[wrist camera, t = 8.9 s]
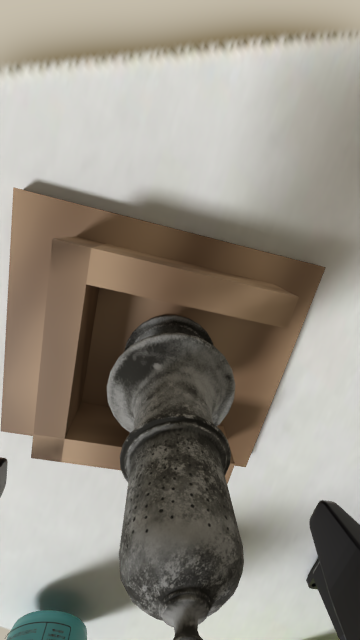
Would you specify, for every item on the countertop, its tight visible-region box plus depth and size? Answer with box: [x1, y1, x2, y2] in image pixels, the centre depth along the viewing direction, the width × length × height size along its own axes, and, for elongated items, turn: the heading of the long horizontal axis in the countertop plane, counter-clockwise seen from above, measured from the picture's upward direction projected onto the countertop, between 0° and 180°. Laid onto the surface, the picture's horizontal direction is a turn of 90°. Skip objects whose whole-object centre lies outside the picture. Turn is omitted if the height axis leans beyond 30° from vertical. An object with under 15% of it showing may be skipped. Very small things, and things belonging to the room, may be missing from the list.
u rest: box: [1, 188, 326, 483], centre depth 15 cm, size 16×14×4 cm
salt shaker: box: [107, 315, 244, 640], centre depth 10 cm, size 6×6×12 cm
